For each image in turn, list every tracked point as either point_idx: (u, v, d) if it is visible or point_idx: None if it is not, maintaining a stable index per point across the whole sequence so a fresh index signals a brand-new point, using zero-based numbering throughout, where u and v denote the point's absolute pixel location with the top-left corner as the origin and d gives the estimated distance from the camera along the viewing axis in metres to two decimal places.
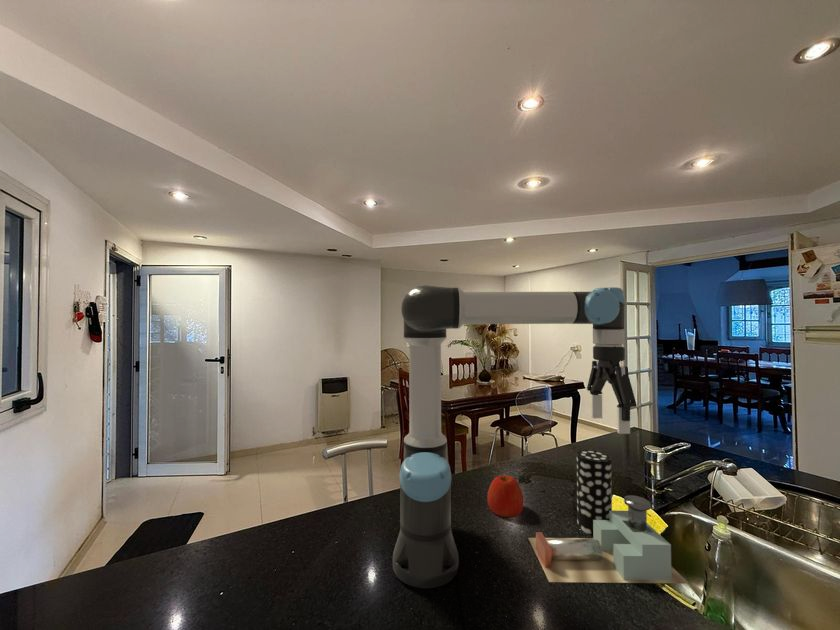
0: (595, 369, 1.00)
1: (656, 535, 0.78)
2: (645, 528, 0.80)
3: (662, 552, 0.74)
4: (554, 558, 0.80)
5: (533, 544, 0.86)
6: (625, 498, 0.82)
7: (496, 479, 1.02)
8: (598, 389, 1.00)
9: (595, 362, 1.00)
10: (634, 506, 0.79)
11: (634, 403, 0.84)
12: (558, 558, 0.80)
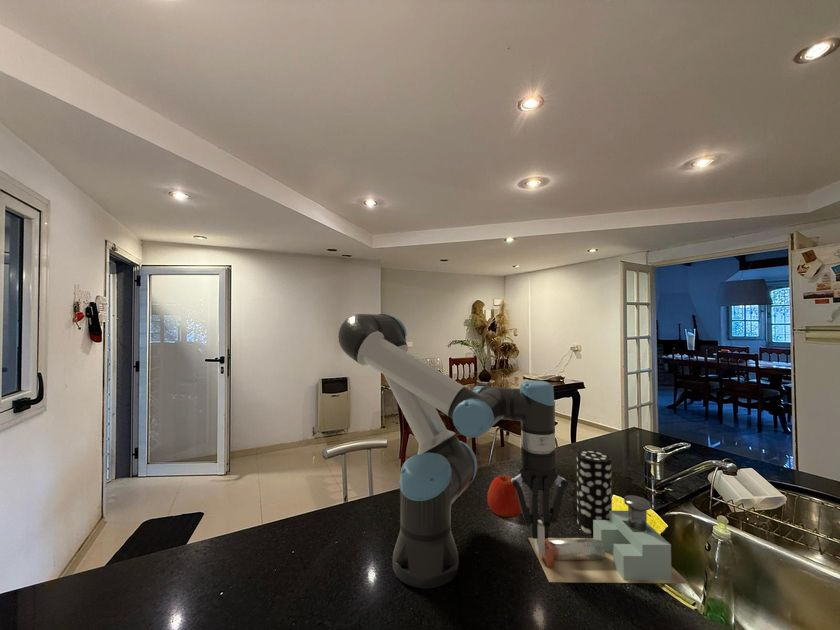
0: (556, 485, 0.82)
1: (656, 535, 0.78)
2: (645, 528, 0.80)
3: (662, 552, 0.74)
4: (556, 558, 0.80)
5: (533, 544, 0.86)
6: (625, 498, 0.82)
7: (496, 479, 1.02)
8: (542, 512, 0.81)
9: None
10: (634, 506, 0.79)
11: (524, 519, 0.81)
12: (560, 558, 0.80)
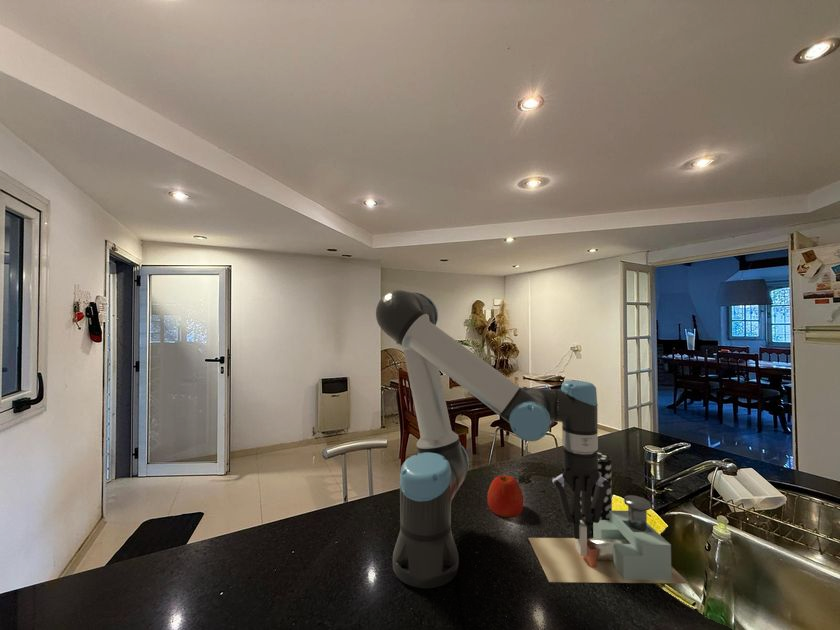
0: (597, 485, 0.82)
1: (656, 535, 0.78)
2: (645, 528, 0.80)
3: (662, 552, 0.74)
4: (599, 558, 0.80)
5: (533, 544, 0.86)
6: (625, 498, 0.82)
7: (496, 479, 1.02)
8: (584, 512, 0.81)
9: None
10: (634, 506, 0.79)
11: (566, 519, 0.80)
12: (603, 558, 0.80)
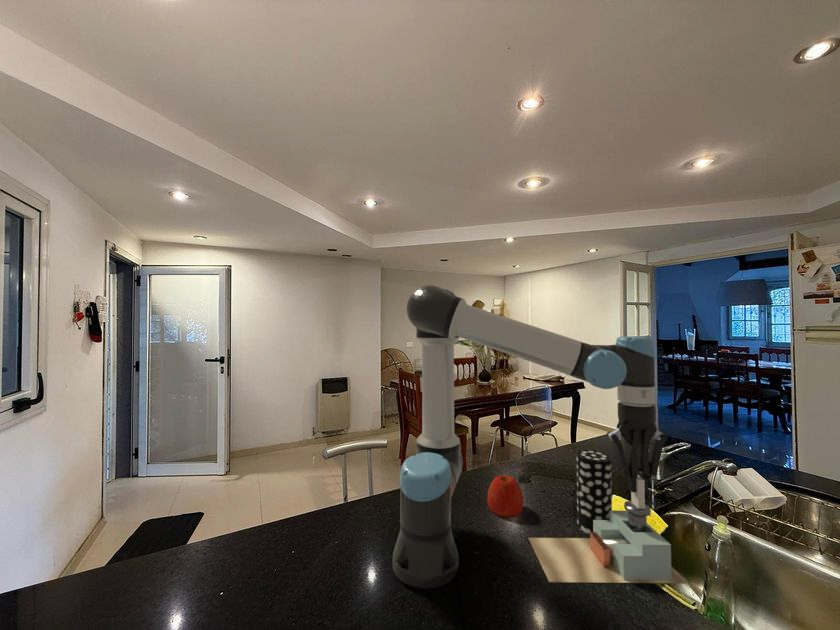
0: (653, 439, 0.82)
1: (656, 535, 0.78)
2: None
3: (662, 552, 0.74)
4: (612, 558, 0.80)
5: (533, 544, 0.86)
6: (625, 503, 0.82)
7: (496, 479, 1.02)
8: (640, 466, 0.81)
9: None
10: (634, 512, 0.79)
11: (623, 473, 0.81)
12: None
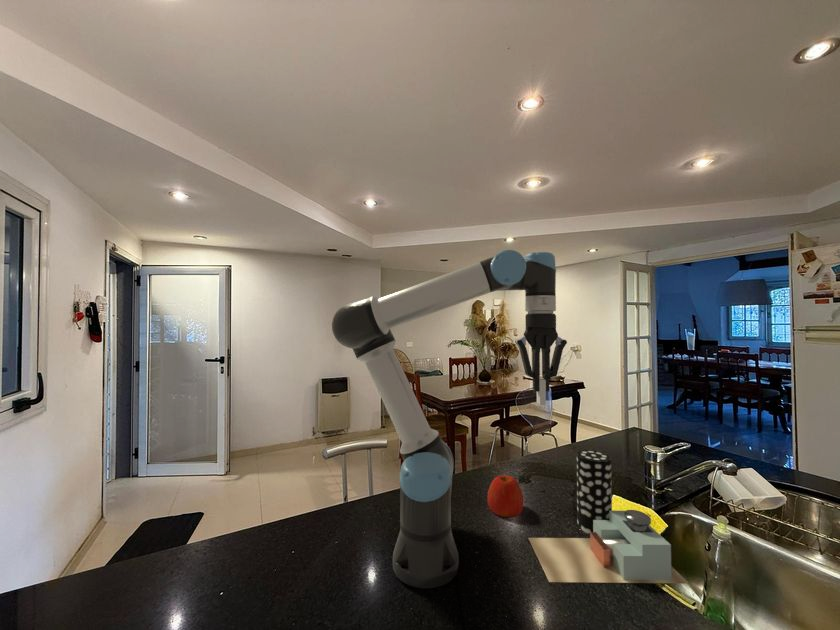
0: (556, 346, 0.92)
1: (656, 535, 0.78)
2: None
3: (662, 552, 0.74)
4: (612, 558, 0.80)
5: (533, 544, 0.86)
6: (625, 513, 0.82)
7: (496, 479, 1.02)
8: (543, 368, 0.91)
9: None
10: (634, 521, 0.79)
11: (527, 374, 0.90)
12: None
